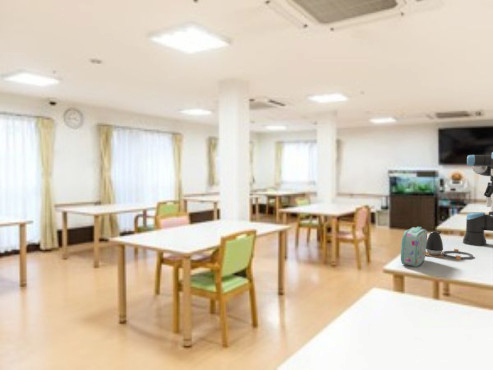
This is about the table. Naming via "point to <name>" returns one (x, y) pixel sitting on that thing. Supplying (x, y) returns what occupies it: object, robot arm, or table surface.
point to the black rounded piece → (434, 243)
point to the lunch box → (414, 246)
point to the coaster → (435, 255)
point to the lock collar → (457, 255)
